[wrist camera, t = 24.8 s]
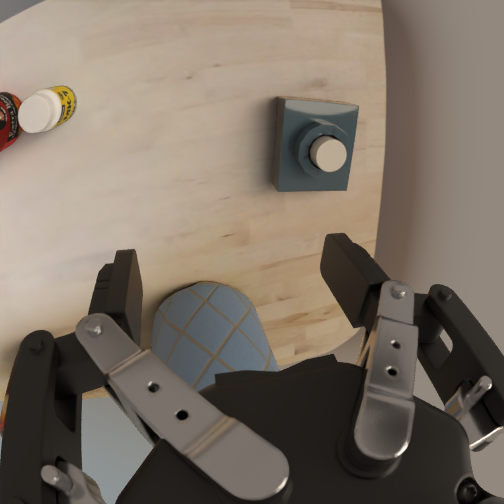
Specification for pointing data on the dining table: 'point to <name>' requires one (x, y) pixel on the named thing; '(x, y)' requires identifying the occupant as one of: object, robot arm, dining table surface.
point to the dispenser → (301, 138)
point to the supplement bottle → (47, 109)
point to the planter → (210, 334)
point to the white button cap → (328, 153)
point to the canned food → (9, 119)
